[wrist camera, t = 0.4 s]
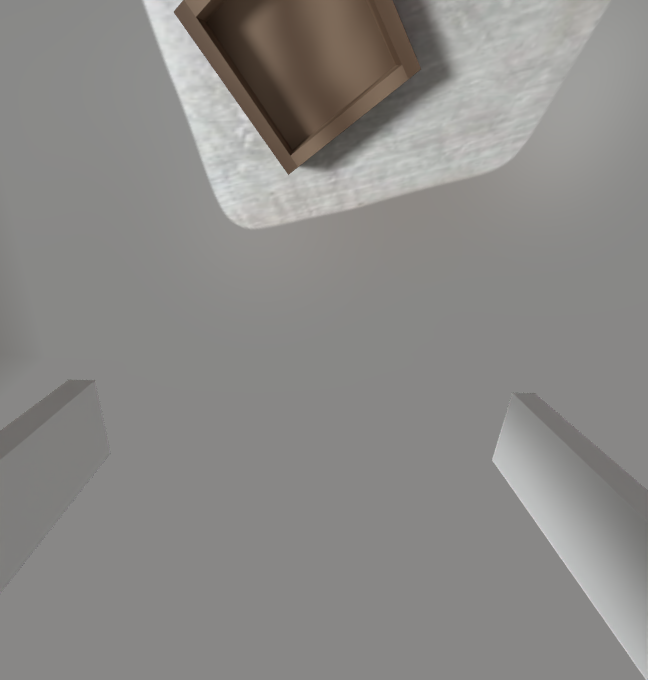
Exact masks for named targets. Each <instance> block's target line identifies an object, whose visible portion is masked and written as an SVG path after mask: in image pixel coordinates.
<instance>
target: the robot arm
mask: <svg viewBox="0 0 648 680" xmlns="http://www.w3.org/2000/svg"><path fill="white" fill-rule="evenodd" d="M110 454H111V451H110V447H109V442H108V438H107V433H106V429H105V424H104V419H103V415H102V410H101V406H100V401H99V397H98V392H97V387H96V383H95V380H68V381H66V382H65V383H64V384H62V385H61V386H60V387H58V388H57V389H56V390H54V391H53V392H52V393H50V394H49V395H48V396H46V397H45V398H44V399H42V400H41V401H39V402H38V403H37V404H35V405H34V406H33V407H32V408H30V409H29V410H27V411H26V412H25V413H23V414H22V415H21V416H19V417H18V418H17V419H15V420H14V421H13V422H11V423H10V424H9V425H7V426H6V427H5V428H3V429H2V430H1V431H0V594H1V592H2V591H3V590H4V589H5V587H6V586H7V585H8V583H9V582H10V581H11V579H12V578H13V577H14V576H15V575H16V573H17V572H18V571H19V569H20V568H21V567H22V566H23V564H24V563H25V562H26V561H27V559H28V558H29V557H30V555H31V554H32V553H33V551H34V550H35V549H36V548H37V547H38V545H39V544H40V543H41V541H42V540H43V539H44V538H45V536H46V535H47V534H48V532H49V531H50V530H51V528H52V527H53V526H54V525H55V524H56V522H57V521H58V520H59V519H60V517H61V516H62V515H63V513H64V512H65V511H66V510H67V508H68V507H69V506H70V504H71V503H72V502H73V501H74V499H75V498H76V497H77V496H78V494H79V493H80V492H81V490H82V489H83V488H84V487H85V485H86V484H87V483H88V482H89V480H90V479H91V478H92V477H93V475H94V474H95V473H96V471H97V470H98V469H99V468H100V466H101V465H102V464H103V463H104V461H105V460H106V459H107V457H108V456H109V455H110ZM492 460H493V462H494V463H495V465H496V466H497V468H498V469H499V470H500V472H501V473H502V475H503V476H504V478H505V479H506V480H507V482H508V483H509V485H510V486H511V488H512V489H513V490H514V492H515V493H516V495H517V496H518V498H519V499H520V500H521V502H522V503H523V505H524V506H525V508H526V509H527V510H528V512H529V513H530V515H531V516H532V517H533V519H534V520H535V522H536V523H537V525H538V526H539V528H540V529H541V530H542V532H543V533H544V535H545V536H546V538H547V539H548V540H549V542H550V543H551V545H552V546H553V548H554V549H555V550H556V552H557V553H558V555H559V556H560V558H561V559H562V560H563V562H564V563H565V565H566V566H567V568H568V569H569V571H570V572H571V573H572V575H573V576H574V578H575V579H576V581H577V582H578V583H579V585H580V586H581V587H582V589H583V591H584V592H585V593H586V595H587V596H588V598H589V599H590V600H591V602H592V603H593V605H594V606H595V608H596V609H597V610H598V612H599V613H600V615H601V616H602V617H603V619H604V621H605V622H606V623H607V625H608V626H609V628H610V629H611V631H612V632H613V633H614V635H615V636H616V638H617V639H618V641H619V642H620V643H621V645H622V646H623V648H624V649H625V650H626V652H627V653H628V655H629V656H630V658H631V659H632V661H633V662H634V663H635V665H636V666H637V668H638V669H639V671H640V672H641V673H642V675H643V676H644V678H645V679H646V680H648V490H647V489H646V488H644V487H643V486H642V485H641V484H639V483H638V482H637V481H636V480H635V479H634V478H633V477H632V476H631V475H629V474H628V473H627V472H626V471H625V470H624V469H622V468H621V467H620V466H619V465H618V464H617V463H615V462H614V461H613V460H612V459H611V458H609V457H608V456H607V455H606V454H605V453H604V452H603V451H601V450H600V449H599V448H598V447H597V446H596V445H594V444H593V443H592V442H591V441H590V440H589V439H588V438H586V437H585V436H584V435H583V434H582V433H581V432H579V431H578V430H577V429H576V428H575V427H574V426H572V425H571V424H570V423H569V422H568V421H567V420H565V419H564V418H563V417H562V416H561V415H560V414H558V413H557V412H556V411H555V410H554V409H553V408H551V407H550V406H549V405H548V404H547V403H546V402H544V401H543V400H542V399H541V398H540V397H539V396H538V395H536V394H535V393H512V395H511V399H510V402H509V405H508V409H507V412H506V416H505V419H504V422H503V426H502V429H501V432H500V436H499V439H498V443H497V446H496V449H495V452H494V456H493V459H492Z"/></svg>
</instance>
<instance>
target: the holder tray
mask: <svg viewBox="0 0 648 680" xmlns="http://www.w3.org/2000/svg"><path fill="white" fill-rule="evenodd" d="M174 13H175V15H176V16H177V17H178V19H179V20H180V22H181V23H182V25H183V26H184V27H185V29H186V30H187V32H188V33H189V35H190V36H191V37H192V39H193V40H194V42H195V43H196V44H197V46H198V47H199V49H200V50H201V52H202V53H203V54H204V56H205V57H206V59H207V60H208V61H209V63H210V64H211V66H212V67H213V69H214V70H215V71H216V73H217V74H218V76H219V77H220V78H221V80H222V81H223V83H224V84H225V86H226V87H227V88H228V90H229V91H230V93H231V94H232V95H233V97H234V98H235V100H236V101H237V103H238V104H239V105H240V107H241V108H242V110H243V111H244V113H245V114H246V115H247V117H248V118H249V120H250V121H251V122H252V124H253V125H254V127H255V128H256V130H257V131H258V132H259V134H260V135H261V137H262V138H263V139H264V141H265V142H266V144H267V145H268V147H269V148H270V149H271V151H272V152H273V154H274V155H275V156H276V158H277V159H278V161H279V162H280V164H281V165H282V166H283V168H284V169H285V171H286V172H287V173H288V175H289V174H290V173H291V172H292V171H294V170H295V169H296V168H298V167H299V166H300V165H301V164H303V163H304V162H305V161H306V160H308V159H309V158H310V157H311V156H313V155H314V154H315V153H316V152H318V151H319V150H320V149H321V148H323V147H324V146H325V145H326V144H328V143H329V142H330V141H331V140H333V139H334V138H335V137H336V136H338V135H339V134H340V133H342V132H343V131H344V130H345V129H347V128H348V127H349V126H350V125H352V124H353V123H354V122H355V121H357V120H358V119H359V118H360V117H362V116H363V115H364V114H365V113H367V112H368V111H369V110H370V109H372V108H373V107H374V106H375V105H377V104H378V103H379V102H381V101H382V100H383V99H384V98H386V97H387V96H388V95H389V94H391V93H392V92H393V91H394V90H396V89H397V88H398V87H399V86H401V85H402V84H403V83H404V82H406V81H407V80H408V79H409V78H411V77H412V76H413V75H414V74H416V73H417V72H418V71H419V70H421V68H420V65H419V63H418V60H417V58H416V56H415V53H414V51H413V48H412V46H411V44H410V41H409V39H408V36H407V34H406V31H405V29H404V27H403V24H402V22H401V19H400V17H399V15H398V12H397V10H396V7H395V5H394V3H393V0H183V1H182V3H181V4H180V5H179V6H178V7H177V8H176V10H175V11H174Z"/></svg>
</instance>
